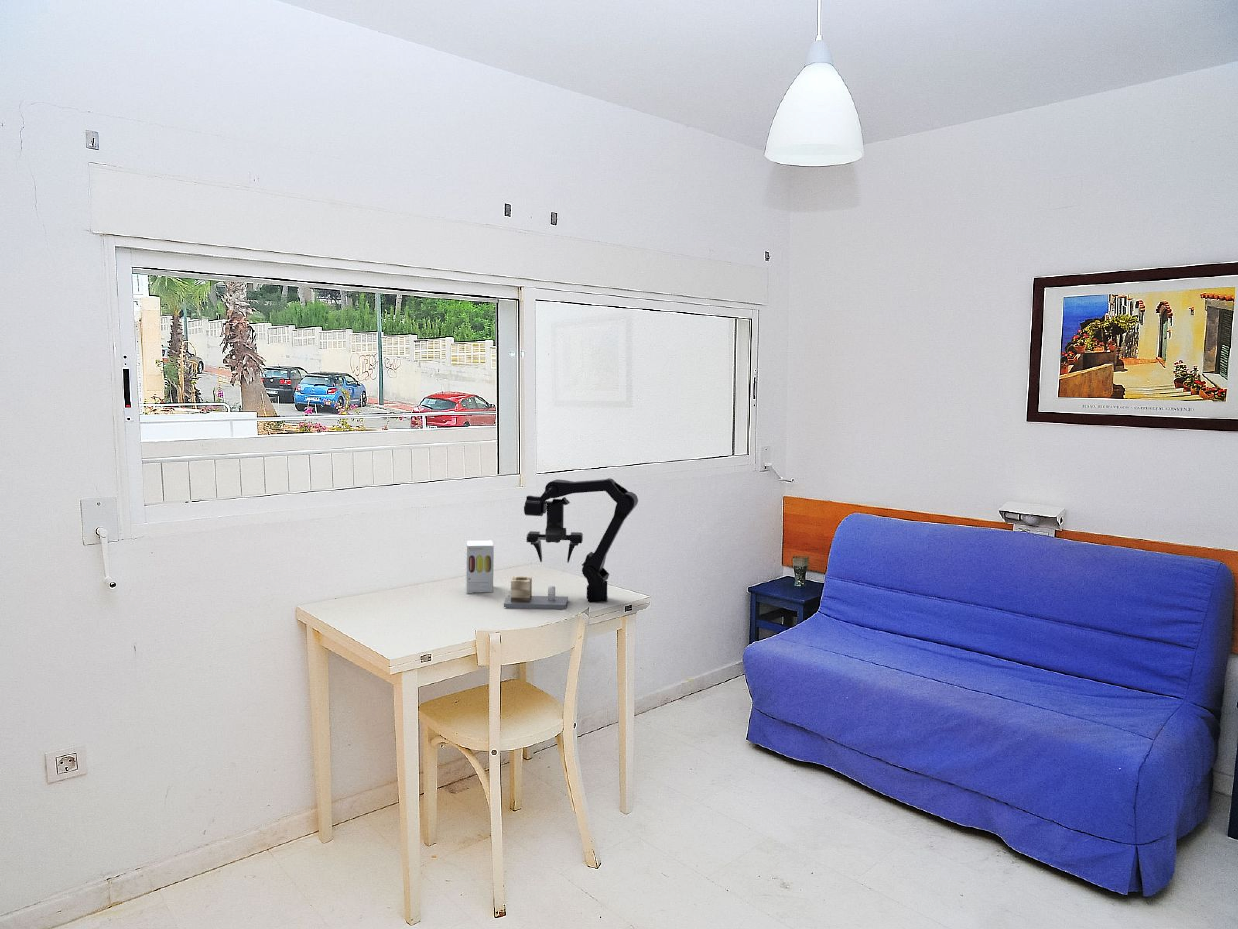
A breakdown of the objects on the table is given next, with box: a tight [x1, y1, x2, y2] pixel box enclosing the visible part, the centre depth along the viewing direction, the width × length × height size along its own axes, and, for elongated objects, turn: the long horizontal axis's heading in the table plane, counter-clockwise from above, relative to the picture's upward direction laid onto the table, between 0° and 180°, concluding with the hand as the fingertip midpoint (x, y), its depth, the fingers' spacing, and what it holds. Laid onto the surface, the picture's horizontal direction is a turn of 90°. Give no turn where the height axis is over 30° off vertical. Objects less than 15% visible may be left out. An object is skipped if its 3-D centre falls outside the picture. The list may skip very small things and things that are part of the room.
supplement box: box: [465, 540, 495, 594], centre depth 284 cm, size 10×9×17 cm
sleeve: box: [510, 576, 533, 602], centre depth 267 cm, size 6×6×7 cm
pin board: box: [503, 585, 569, 610], centre depth 267 cm, size 20×10×6 cm, turn 89°
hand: (554, 562), depth 276 cm, fingers open, 9 cm apart
